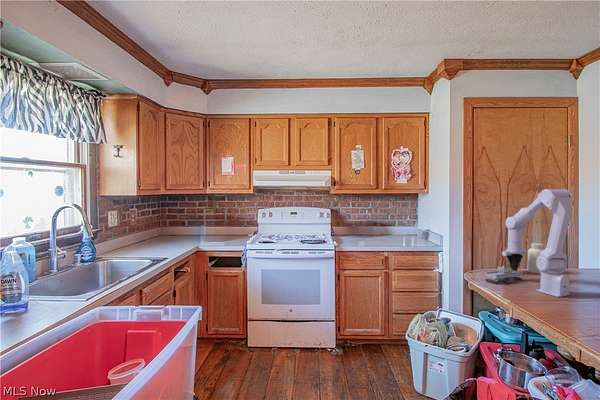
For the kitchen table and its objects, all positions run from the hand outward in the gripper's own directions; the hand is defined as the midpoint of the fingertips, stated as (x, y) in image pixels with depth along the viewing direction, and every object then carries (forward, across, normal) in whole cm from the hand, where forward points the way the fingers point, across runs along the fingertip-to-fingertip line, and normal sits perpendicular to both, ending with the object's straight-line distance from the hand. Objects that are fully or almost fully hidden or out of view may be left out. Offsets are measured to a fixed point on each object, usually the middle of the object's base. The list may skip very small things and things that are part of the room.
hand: (514, 269), depth 166 cm
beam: (+2, +7, 0) cm, 7 cm away
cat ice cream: (+5, -12, -9) cm, 16 cm away
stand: (+5, +7, 0) cm, 8 cm away
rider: (+1, +7, 0) cm, 7 cm away
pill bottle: (+5, -25, -6) cm, 26 cm away
